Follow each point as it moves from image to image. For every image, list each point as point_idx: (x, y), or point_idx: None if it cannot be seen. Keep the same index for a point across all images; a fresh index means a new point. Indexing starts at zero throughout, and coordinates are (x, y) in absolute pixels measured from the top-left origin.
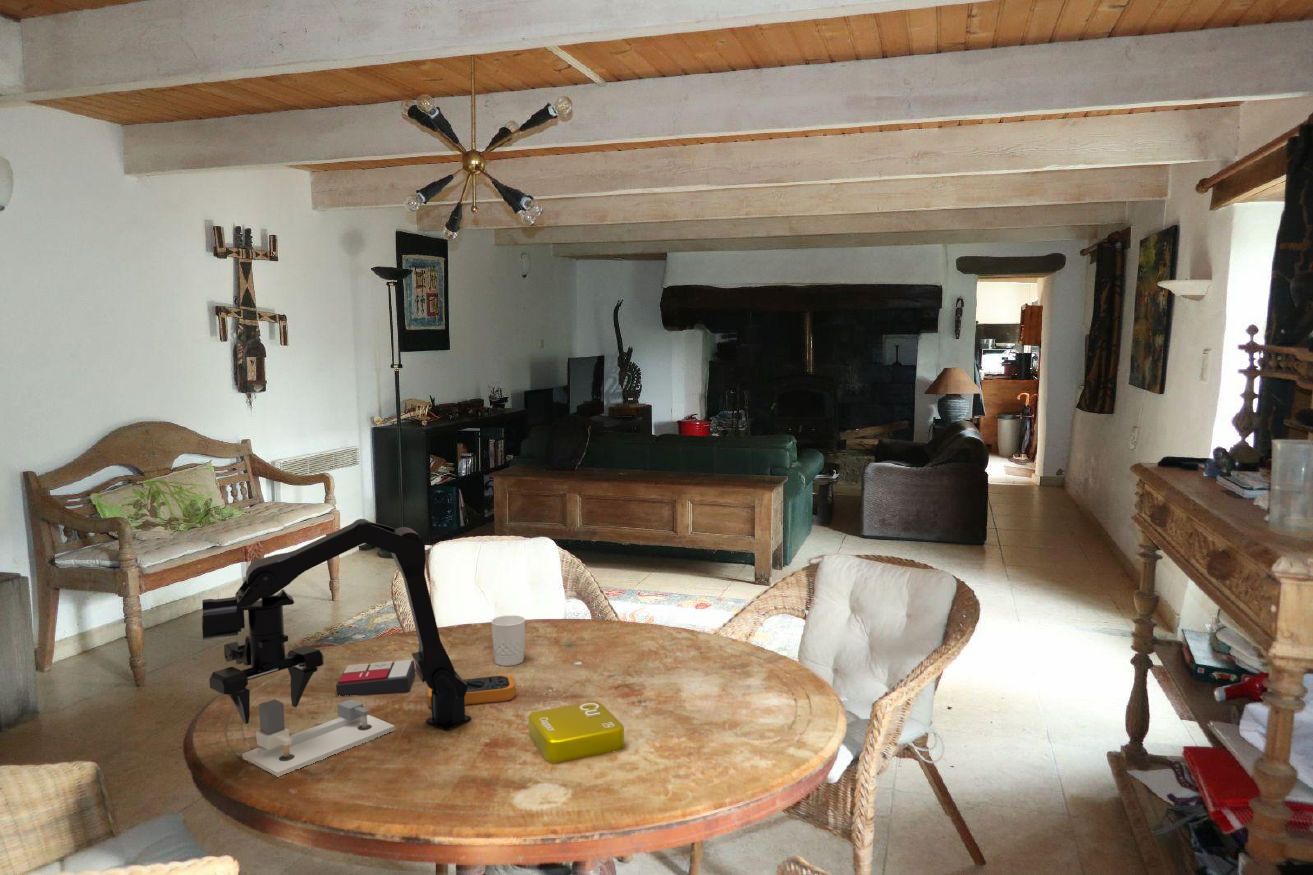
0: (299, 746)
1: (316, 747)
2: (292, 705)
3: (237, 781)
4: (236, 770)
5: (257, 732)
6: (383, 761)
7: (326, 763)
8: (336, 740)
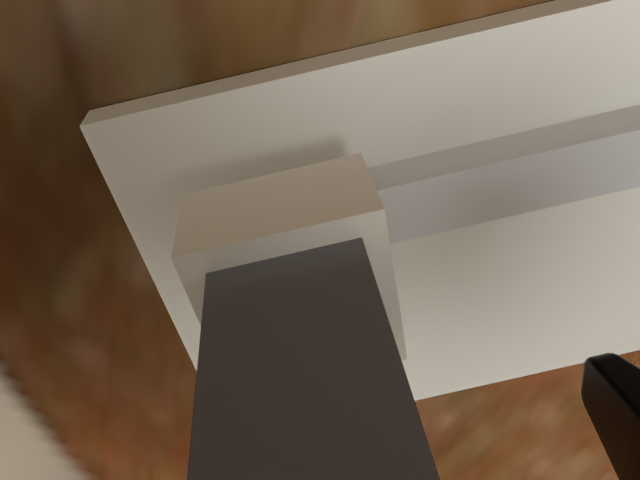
0: (438, 243)
1: (497, 307)
2: (589, 371)
3: (47, 362)
4: (43, 246)
5: (179, 274)
6: (607, 471)
7: (455, 397)
8: (620, 285)
